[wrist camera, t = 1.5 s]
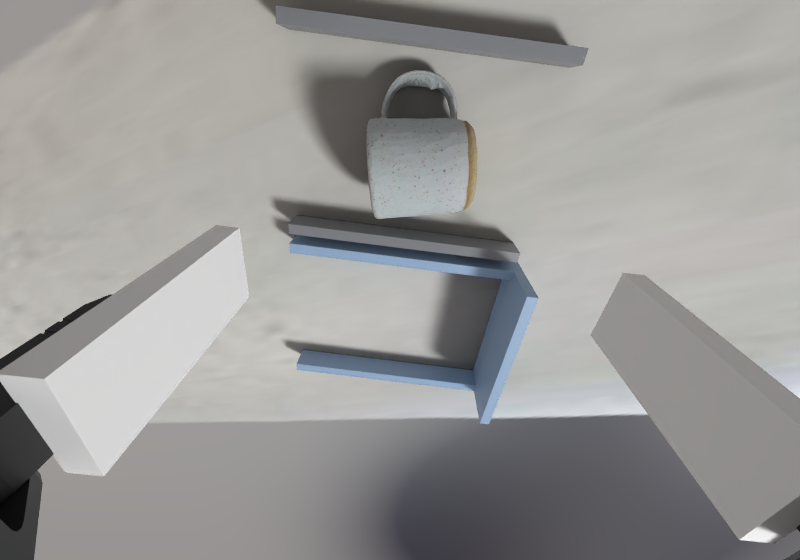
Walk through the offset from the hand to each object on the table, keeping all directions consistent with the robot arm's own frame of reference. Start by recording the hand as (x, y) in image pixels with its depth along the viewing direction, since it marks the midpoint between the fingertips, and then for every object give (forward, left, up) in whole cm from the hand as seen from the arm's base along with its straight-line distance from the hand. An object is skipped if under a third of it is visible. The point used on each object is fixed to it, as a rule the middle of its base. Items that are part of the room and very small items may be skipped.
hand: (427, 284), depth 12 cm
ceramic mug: (+1, -2, -21) cm, 21 cm away
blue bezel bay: (+1, +17, -21) cm, 27 cm away
